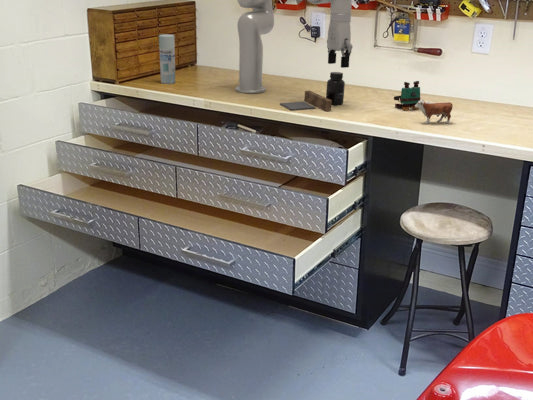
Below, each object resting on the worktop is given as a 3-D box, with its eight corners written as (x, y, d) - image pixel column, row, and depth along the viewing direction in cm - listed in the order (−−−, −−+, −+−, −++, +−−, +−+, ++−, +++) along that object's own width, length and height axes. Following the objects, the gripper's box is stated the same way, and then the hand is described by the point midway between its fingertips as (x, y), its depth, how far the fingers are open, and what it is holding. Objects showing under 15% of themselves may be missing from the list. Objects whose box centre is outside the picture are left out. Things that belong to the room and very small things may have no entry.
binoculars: (407, 79, 246) (425, 81, 237) (406, 106, 249) (423, 109, 240) (389, 80, 242) (406, 82, 233) (388, 108, 245) (405, 111, 236)
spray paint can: (158, 83, 273) (156, 35, 266) (163, 80, 279) (162, 34, 272) (172, 84, 272) (171, 36, 265) (177, 81, 278) (176, 34, 271)
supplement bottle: (342, 106, 242) (344, 74, 238) (324, 105, 243) (326, 73, 239) (344, 102, 248) (346, 71, 244) (326, 101, 249) (328, 70, 245)
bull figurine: (411, 121, 224) (414, 98, 221) (448, 121, 225) (451, 98, 222) (415, 124, 220) (418, 101, 217) (453, 124, 221) (456, 101, 218)
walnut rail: (304, 100, 249) (304, 90, 248) (308, 100, 250) (309, 90, 248) (326, 111, 234) (327, 100, 232) (331, 111, 235) (331, 100, 233)
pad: (279, 104, 242) (279, 103, 242) (303, 102, 246) (303, 101, 246) (291, 110, 233) (291, 109, 233) (315, 108, 237) (315, 107, 237)
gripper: (320, 16, 240) (318, 62, 246) (343, 20, 225) (341, 69, 231) (337, 16, 243) (335, 61, 249) (361, 20, 228) (358, 68, 234)
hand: (338, 65), depth 240 cm, fingers open, 9 cm apart
